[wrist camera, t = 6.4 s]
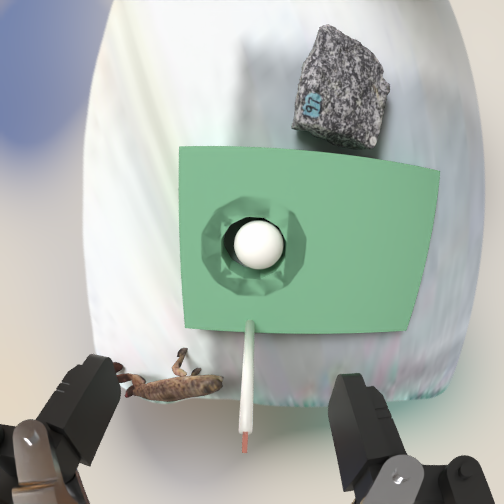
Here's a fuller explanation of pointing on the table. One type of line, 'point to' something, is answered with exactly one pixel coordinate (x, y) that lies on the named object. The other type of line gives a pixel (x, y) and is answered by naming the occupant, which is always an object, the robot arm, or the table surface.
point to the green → (304, 239)
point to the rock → (341, 92)
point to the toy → (171, 383)
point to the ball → (258, 244)
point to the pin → (247, 385)
